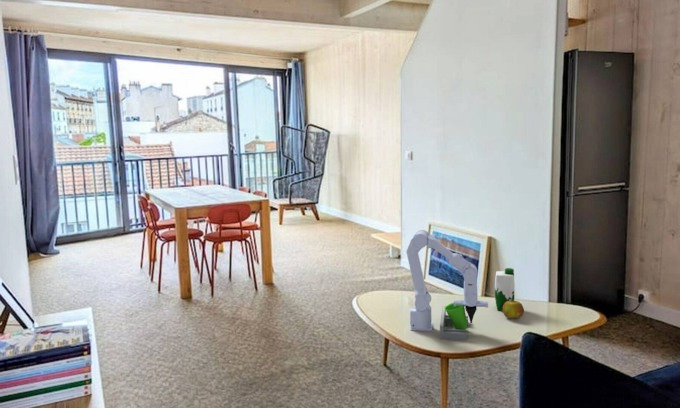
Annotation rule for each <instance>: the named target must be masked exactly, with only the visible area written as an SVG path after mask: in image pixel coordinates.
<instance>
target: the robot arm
mask: <svg viewBox="0 0 680 408" xmlns="http://www.w3.org/2000/svg"><path fill="white" fill-rule="evenodd" d="M425 247H426V249H434V250H435V251H437V252H438V253H439V254H441V255H442V256H443V257H445V258H446V259H447V260H448V264H449V265H450V266H452V267H453V268H454V269H455V270H456V271H458V272H459V273H461V274H462V277H463V280H464V281H463V299H462V300H453V303H454V306H455V307H456V306H463V305H464V308H465V312H466V313H467V316H468V320H469V323H470V324H473V319H474V316H475V314H476V312H477V309H478V307H479V308H480V307H481V308H489V301H484V300H478V278H477V276H478V268H477V266H476V265H475V264H474V263H472V262H471V261H467V259H465V258H464V257H463V254H461V253H460V254H459V253H457V252H456V253H455V252H452V251H451V250H450V249H448V247H446V246H445V245H444V244H443V243H442V242H441V241H440V240H439V239H437V238H436V237H435V235H432V234H431V233H429V232H428V231H426V230H425V229H420V230H418V231H417V232H416V233H415V234H414V236H413V237H412V238H411V239H410V242H409V245H408V247H407V249H406V255H407V259H408V260H407V261H408V266H409V269H410V274H411V278H412V283H413V289H414V299H415V300H414V307H411V308H410V317H409V323H410V328H409V329H410V331H419V332H420V331H421V332H422V331H423V332H432V331H433V326H434V323H432V306H431V305H430V303H431V301H432V296H431V294H430V292H428V288H427V287H426V283H425V278H424V274H423V269H422V264H421V261H420V256H419V252H420V251H421V250H422V249H424V248H425Z"/></svg>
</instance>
